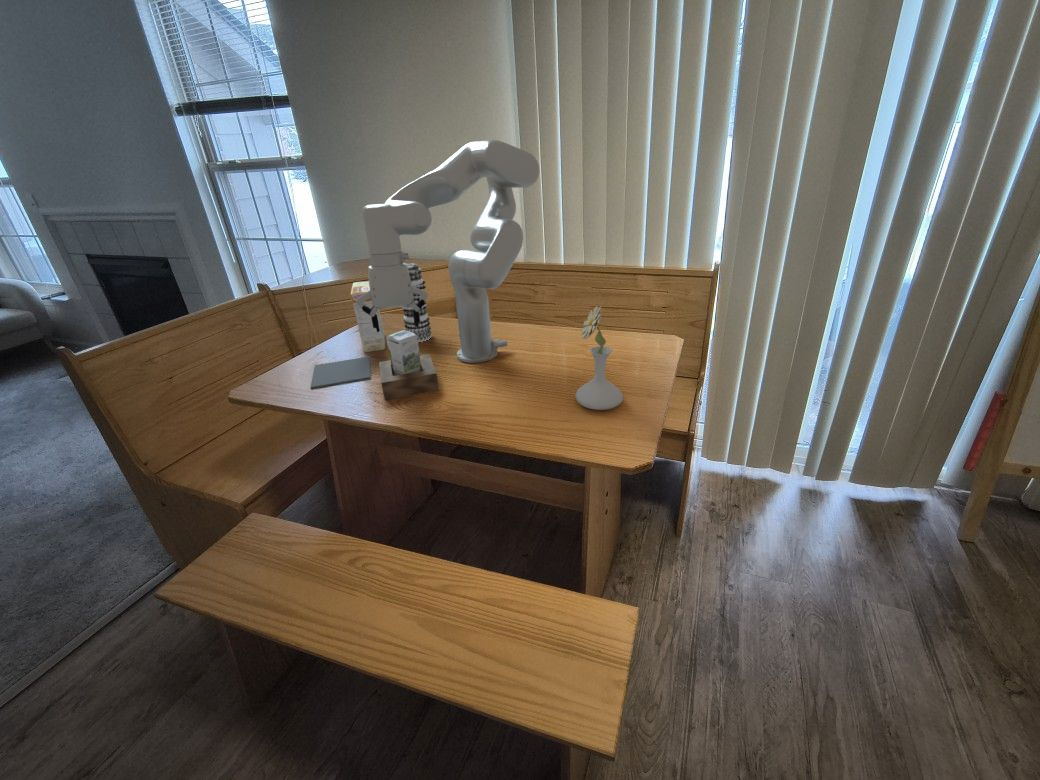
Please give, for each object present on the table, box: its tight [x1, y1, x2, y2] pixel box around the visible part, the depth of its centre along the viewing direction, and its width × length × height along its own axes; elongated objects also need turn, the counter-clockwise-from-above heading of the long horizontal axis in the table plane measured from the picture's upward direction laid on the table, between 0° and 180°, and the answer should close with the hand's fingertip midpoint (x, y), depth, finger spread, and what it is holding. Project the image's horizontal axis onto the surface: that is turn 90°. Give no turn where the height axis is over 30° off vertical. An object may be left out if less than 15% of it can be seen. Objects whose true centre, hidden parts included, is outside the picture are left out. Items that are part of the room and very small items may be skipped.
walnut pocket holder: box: [378, 353, 440, 401], centre depth 122 cm, size 14×14×5 cm
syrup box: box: [385, 329, 422, 376], centre depth 120 cm, size 6×6×14 cm
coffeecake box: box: [350, 280, 386, 353], centre depth 148 cm, size 15×7×20 cm, turn 15°
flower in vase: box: [574, 305, 624, 411], centre depth 103 cm, size 13×11×25 cm
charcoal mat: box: [310, 356, 372, 390], centre depth 132 cm, size 16×16×1 cm
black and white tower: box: [400, 263, 433, 343], centre depth 149 cm, size 9×9×25 cm
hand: (397, 327), depth 115 cm, fingers open, 9 cm apart
